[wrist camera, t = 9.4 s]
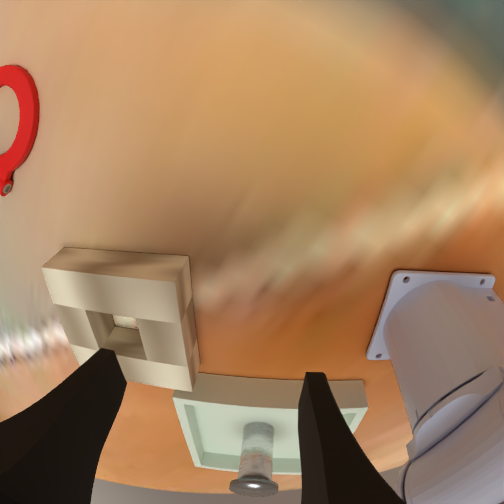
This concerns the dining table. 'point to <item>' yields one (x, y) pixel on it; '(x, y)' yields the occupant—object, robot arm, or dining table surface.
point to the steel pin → (256, 462)
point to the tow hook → (29, 118)
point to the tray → (253, 417)
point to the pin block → (128, 311)
